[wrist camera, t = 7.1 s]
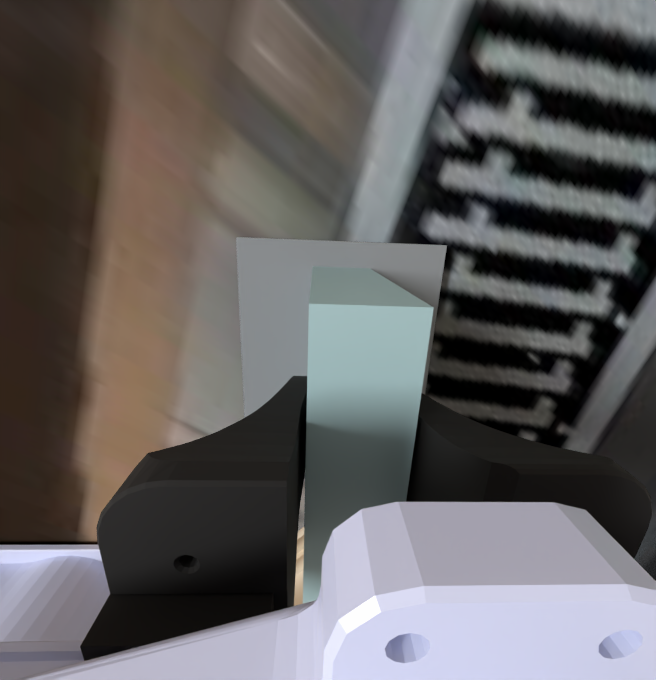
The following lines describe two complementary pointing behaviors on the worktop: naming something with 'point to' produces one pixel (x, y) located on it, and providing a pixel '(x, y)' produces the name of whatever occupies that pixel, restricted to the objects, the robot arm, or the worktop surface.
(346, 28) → the worktop surface
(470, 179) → the worktop surface
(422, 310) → the tall board
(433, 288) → the slate mat
